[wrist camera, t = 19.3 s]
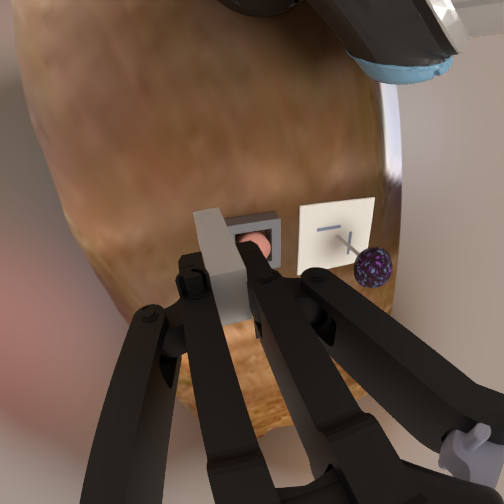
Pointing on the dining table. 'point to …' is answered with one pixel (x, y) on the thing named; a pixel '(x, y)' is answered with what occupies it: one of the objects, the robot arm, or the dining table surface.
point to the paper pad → (333, 232)
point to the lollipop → (371, 266)
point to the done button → (256, 240)
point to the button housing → (257, 223)
